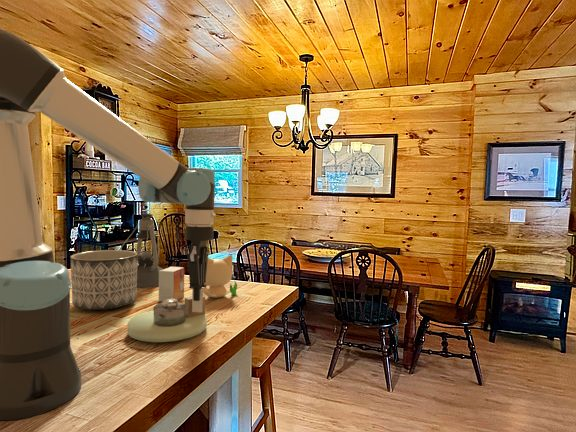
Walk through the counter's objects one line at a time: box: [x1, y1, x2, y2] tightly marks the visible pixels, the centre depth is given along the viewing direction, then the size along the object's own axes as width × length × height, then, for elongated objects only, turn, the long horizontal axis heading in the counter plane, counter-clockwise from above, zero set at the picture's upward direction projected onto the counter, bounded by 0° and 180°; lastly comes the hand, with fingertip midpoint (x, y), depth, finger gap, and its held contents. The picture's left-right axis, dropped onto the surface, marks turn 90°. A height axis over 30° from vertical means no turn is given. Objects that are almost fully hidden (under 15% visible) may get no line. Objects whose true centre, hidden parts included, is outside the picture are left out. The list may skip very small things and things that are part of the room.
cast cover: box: [153, 299, 186, 327], centre depth 97 cm, size 8×8×6 cm
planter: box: [69, 249, 138, 311], centre depth 119 cm, size 19×19×16 cm
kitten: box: [202, 254, 238, 298], centre depth 132 cm, size 15×10×15 cm
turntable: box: [126, 295, 208, 343], centre depth 98 cm, size 20×20×7 cm
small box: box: [158, 266, 185, 302], centre depth 128 cm, size 8×6×10 cm
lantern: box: [119, 211, 164, 289], centre depth 147 cm, size 18×20×30 cm
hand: (197, 311), depth 101 cm, fingers closed
